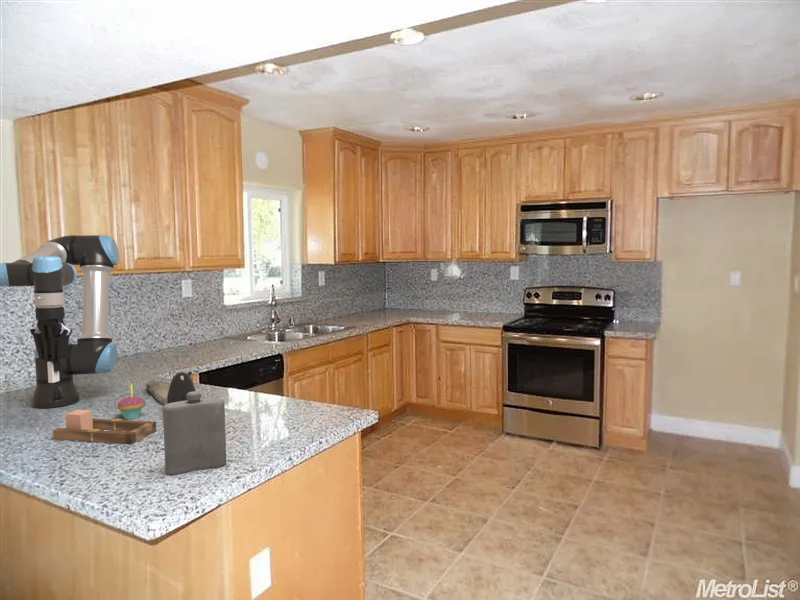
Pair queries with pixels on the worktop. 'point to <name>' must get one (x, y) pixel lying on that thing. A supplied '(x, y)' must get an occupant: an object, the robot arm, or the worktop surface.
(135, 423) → the slotted beam
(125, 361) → the worktop surface
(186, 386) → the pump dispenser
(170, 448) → the flask
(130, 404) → the cupcake
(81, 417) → the block
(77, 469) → the worktop surface
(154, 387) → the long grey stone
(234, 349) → the worktop surface
